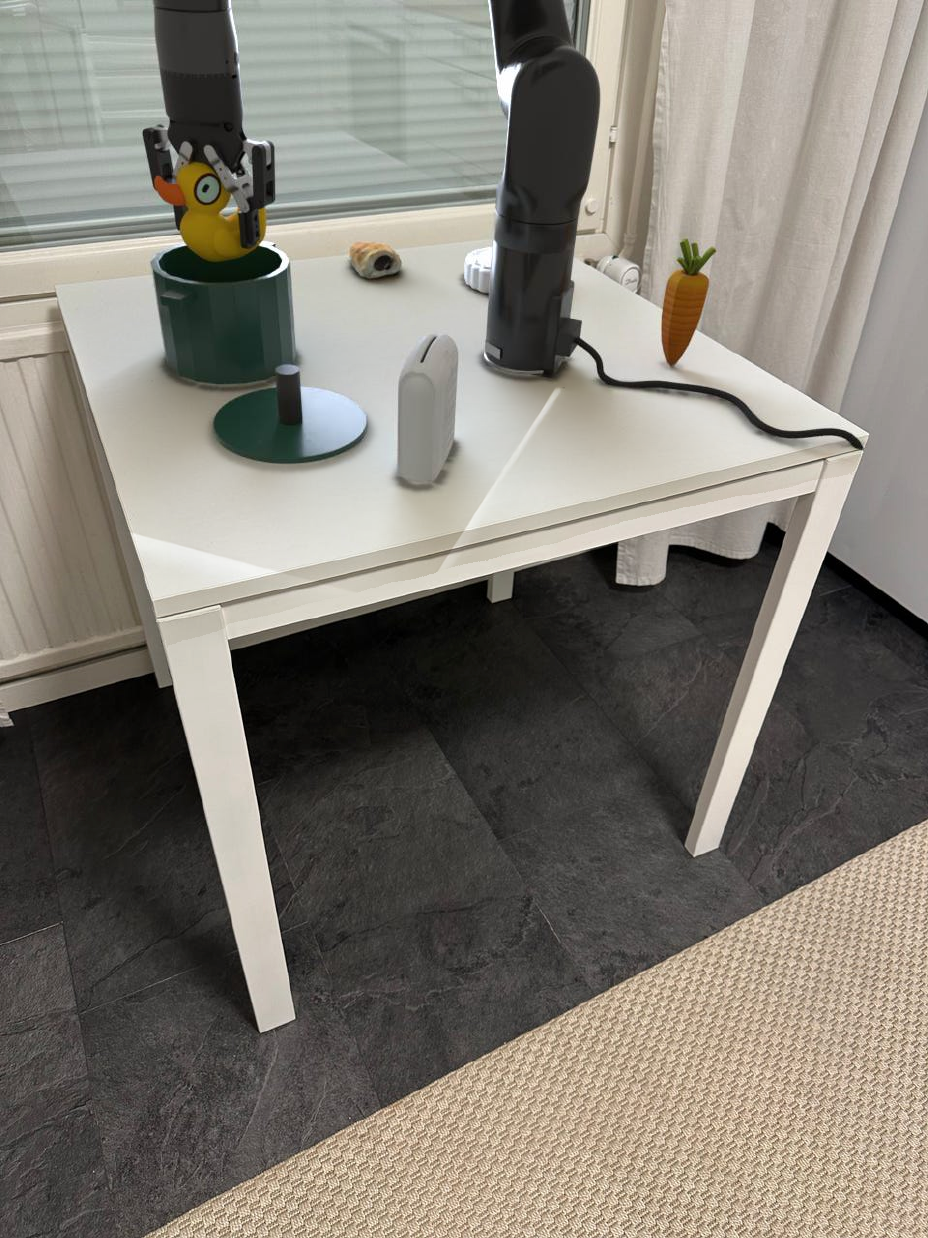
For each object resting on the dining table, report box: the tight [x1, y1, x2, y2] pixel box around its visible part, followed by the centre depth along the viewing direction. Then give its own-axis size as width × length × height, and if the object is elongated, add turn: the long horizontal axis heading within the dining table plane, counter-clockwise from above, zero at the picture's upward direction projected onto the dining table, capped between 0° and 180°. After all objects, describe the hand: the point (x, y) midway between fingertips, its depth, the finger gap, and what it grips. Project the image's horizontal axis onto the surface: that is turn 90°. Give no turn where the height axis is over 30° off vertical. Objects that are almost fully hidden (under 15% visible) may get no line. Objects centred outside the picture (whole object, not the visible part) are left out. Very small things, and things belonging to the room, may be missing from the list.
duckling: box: [154, 161, 267, 262], centre depth 97 cm, size 11×5×10 cm, turn 122°
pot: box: [149, 240, 297, 386], centre depth 104 cm, size 15×20×12 cm
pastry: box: [349, 241, 403, 280], centre depth 133 cm, size 9×7×4 cm
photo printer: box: [396, 332, 459, 483], centre depth 88 cm, size 10×4×12 cm, turn 168°
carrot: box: [660, 238, 717, 367], centre depth 108 cm, size 5×5×15 cm
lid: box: [212, 364, 368, 464], centre depth 93 cm, size 16×16×7 cm
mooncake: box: [463, 246, 492, 294], centre depth 131 cm, size 12×12×4 cm
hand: (219, 240), depth 99 cm, fingers closed on duckling, 6 cm apart
